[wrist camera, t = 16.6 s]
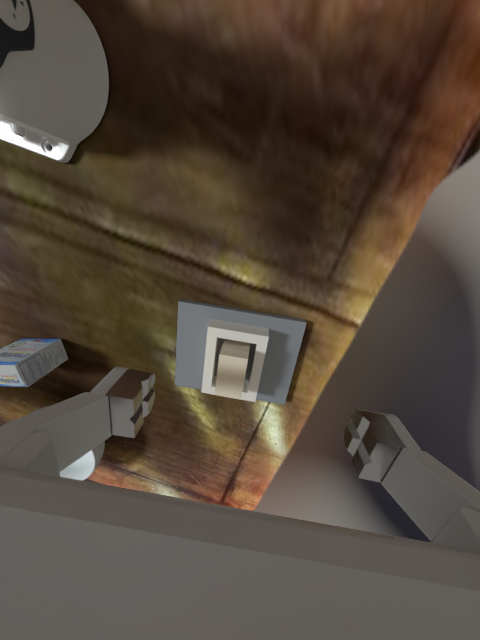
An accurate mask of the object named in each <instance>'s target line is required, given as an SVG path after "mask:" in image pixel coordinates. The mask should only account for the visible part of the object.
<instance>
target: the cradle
mask: <svg viewBox="0 0 480 640" xmlns="http://www.w3.org/2000/svg"><path fill="white" fill-rule="evenodd" d="M306 324H307V322H306V320H304V319H298V318H292V317H286V316H280V315H274V314H268V313H262V312H256V311H250V310H244V309H237V308H231V307H225V306H219V305H213V304H207V303H201V302H195V301H189V300H183V299H181V300H179V301H178V323H177V346H176V369H175V385H178V386H183V387H189V388H194V389H200V390H202V391H201V392H202V393H208V394H215V386H216V378H217V369H218V361H219V354H220V351H221V348H222V345H223V343H224V340H225V339H229V340H235V341H241V342H247V343H250V348H249V356H248V363H247V368H246V374H245V379H244V385H243V390H242V396H241V400H247V401H253V402H255V401H256V400H261V401H267V402H272V403H278V404H284V405H285V401H286V398H287V394H288V390H289V387H290V383H291V379H292V376H293V372H294V368H295V365H296V361H297V357H298V353H299V350H300V346H301V342H302V339H303V335H304V331H305V328H306Z"/></svg>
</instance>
